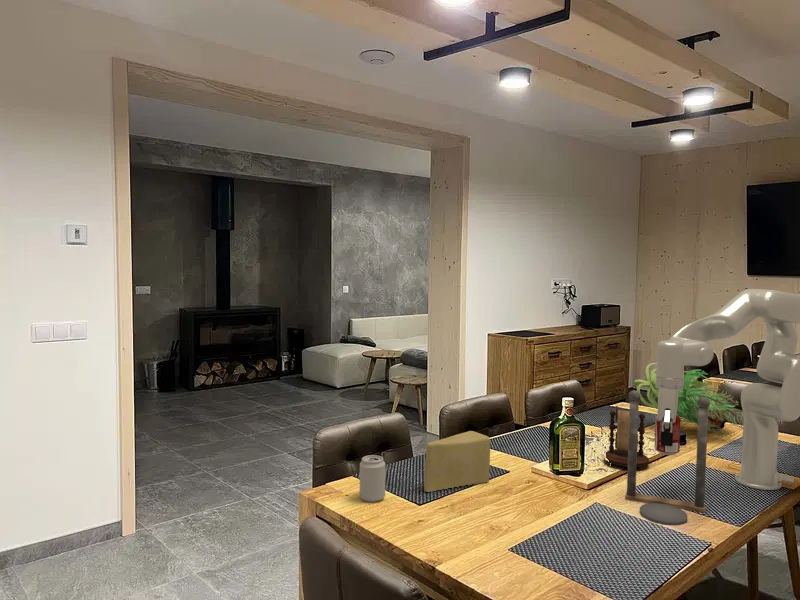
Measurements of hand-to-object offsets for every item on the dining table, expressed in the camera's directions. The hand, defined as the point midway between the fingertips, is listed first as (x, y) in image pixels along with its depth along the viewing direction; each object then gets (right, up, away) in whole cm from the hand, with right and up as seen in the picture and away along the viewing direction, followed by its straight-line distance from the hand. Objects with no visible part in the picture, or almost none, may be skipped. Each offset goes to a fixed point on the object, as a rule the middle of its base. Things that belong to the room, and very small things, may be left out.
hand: (667, 441), depth 180 cm
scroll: (-2, -15, +28) cm, 32 cm away
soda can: (0, -4, 0) cm, 4 cm away
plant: (+39, -13, +64) cm, 76 cm away
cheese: (-63, -16, +8) cm, 65 cm away
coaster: (-7, -17, -14) cm, 23 cm away
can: (-87, -16, -3) cm, 89 cm away
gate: (-3, -17, -5) cm, 18 cm away
